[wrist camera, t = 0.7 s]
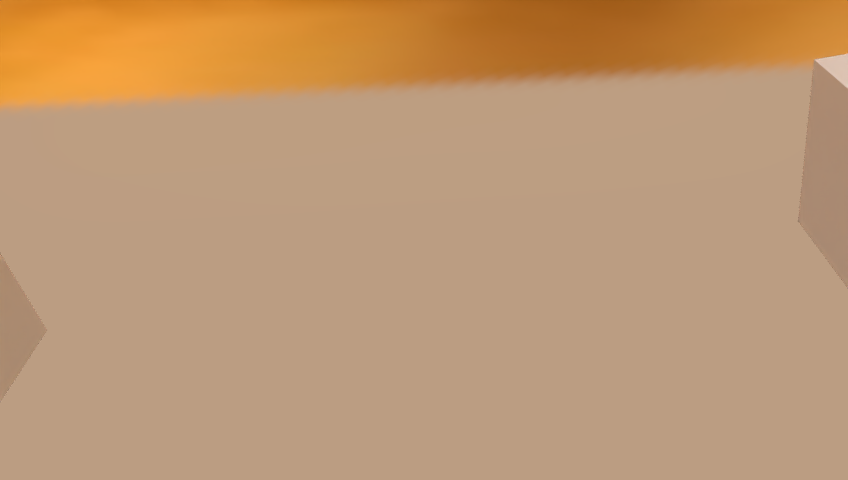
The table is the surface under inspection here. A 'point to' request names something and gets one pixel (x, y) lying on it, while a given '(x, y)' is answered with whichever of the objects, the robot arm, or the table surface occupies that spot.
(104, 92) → the table surface
